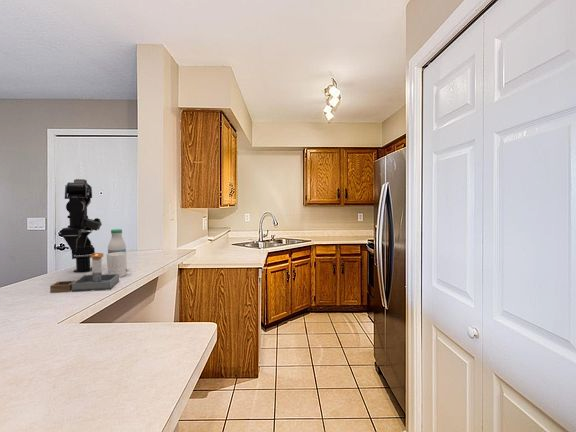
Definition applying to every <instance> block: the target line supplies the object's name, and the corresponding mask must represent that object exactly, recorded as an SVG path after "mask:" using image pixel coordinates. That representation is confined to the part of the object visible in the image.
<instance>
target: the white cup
mask: <svg viewBox="0 0 576 432" xmlns="http://www.w3.org/2000/svg"><path fill="white" fill-rule="evenodd" d="M106 265H107V272H108V274H119V278H122V277H125V276H126V274H127V273H126V271H127V270H126V265H127V252H126V253H124V252H116V253H109V254H108V253H107V254H106Z"/></svg>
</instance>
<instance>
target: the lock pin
mask: <svg viewBox="0 0 576 432" xmlns="http://www.w3.org/2000/svg"><path fill="white" fill-rule="evenodd" d="M90 257H92V258H91V259H92V261H91V265H92V267H91V268H92V270H91V275H92V282H101V275H103V274H102V269H103V268H102V266H103V265H102V261H103V260H102V259H103V258H104V253H102V252H95V253H93V254H90Z"/></svg>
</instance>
